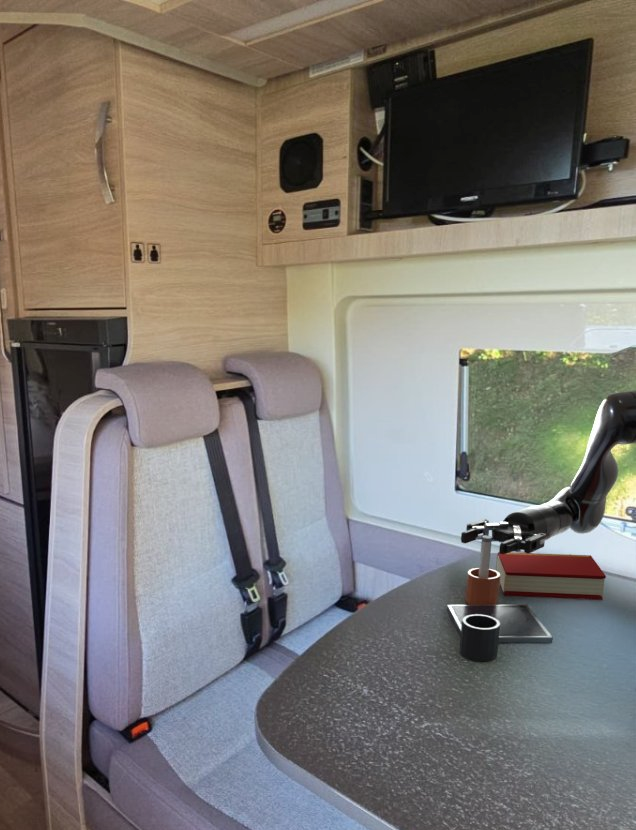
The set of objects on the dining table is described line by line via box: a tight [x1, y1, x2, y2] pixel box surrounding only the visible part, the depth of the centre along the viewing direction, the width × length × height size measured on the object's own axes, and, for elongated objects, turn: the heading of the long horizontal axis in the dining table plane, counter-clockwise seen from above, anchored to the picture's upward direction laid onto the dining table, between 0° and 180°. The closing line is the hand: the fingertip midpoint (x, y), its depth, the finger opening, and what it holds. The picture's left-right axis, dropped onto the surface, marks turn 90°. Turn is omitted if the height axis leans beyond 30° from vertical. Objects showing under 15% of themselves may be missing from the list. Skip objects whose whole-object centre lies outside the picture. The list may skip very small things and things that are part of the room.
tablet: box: [446, 604, 554, 644], centre depth 132 cm, size 15×14×1 cm
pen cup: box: [464, 567, 500, 605], centre depth 142 cm, size 6×6×6 cm
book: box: [495, 551, 607, 601], centre depth 148 cm, size 18×13×5 cm
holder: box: [459, 614, 500, 663], centre depth 122 cm, size 6×6×6 cm
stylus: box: [478, 535, 492, 578], centre depth 140 cm, size 2×2×13 cm
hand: (481, 543), depth 137 cm, fingers open, 8 cm apart
